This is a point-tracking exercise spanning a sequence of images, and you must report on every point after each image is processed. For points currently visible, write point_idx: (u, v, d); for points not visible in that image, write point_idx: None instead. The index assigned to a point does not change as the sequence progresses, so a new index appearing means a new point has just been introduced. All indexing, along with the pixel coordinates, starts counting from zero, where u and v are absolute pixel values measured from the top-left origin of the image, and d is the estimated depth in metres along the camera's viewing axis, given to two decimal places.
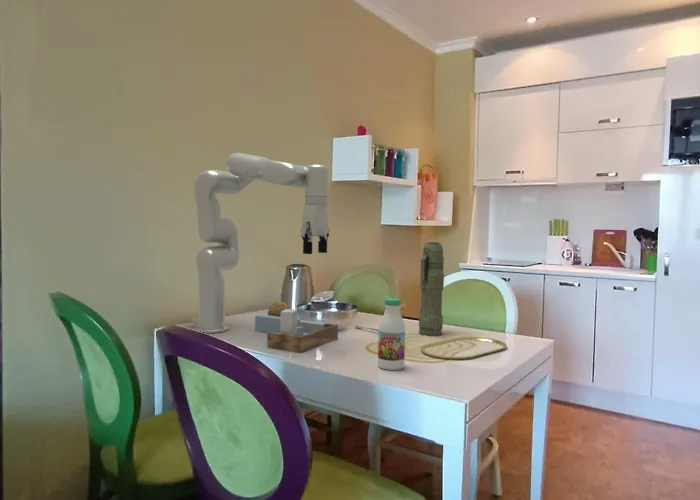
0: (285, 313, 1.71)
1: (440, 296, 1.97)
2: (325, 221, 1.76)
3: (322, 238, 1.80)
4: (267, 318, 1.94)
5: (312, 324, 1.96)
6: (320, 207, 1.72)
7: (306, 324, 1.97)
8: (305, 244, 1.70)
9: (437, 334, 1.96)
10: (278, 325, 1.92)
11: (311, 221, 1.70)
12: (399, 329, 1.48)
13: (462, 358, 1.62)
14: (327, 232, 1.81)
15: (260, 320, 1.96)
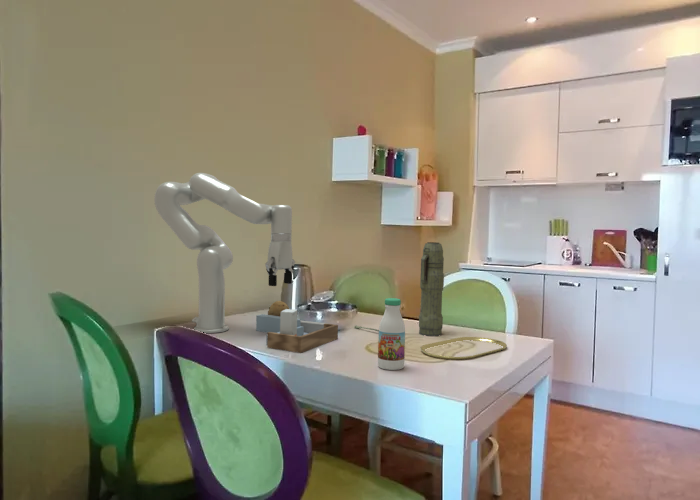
0: (285, 313, 1.71)
1: (440, 296, 1.97)
2: (289, 255, 1.93)
3: (287, 270, 1.97)
4: (268, 318, 1.95)
5: (312, 324, 1.96)
6: (284, 243, 1.90)
7: (306, 324, 1.97)
8: (270, 277, 1.88)
9: (437, 334, 1.96)
10: (279, 325, 1.92)
11: (275, 256, 1.87)
12: (399, 329, 1.48)
13: (462, 358, 1.62)
14: (292, 264, 1.98)
15: (261, 320, 1.96)
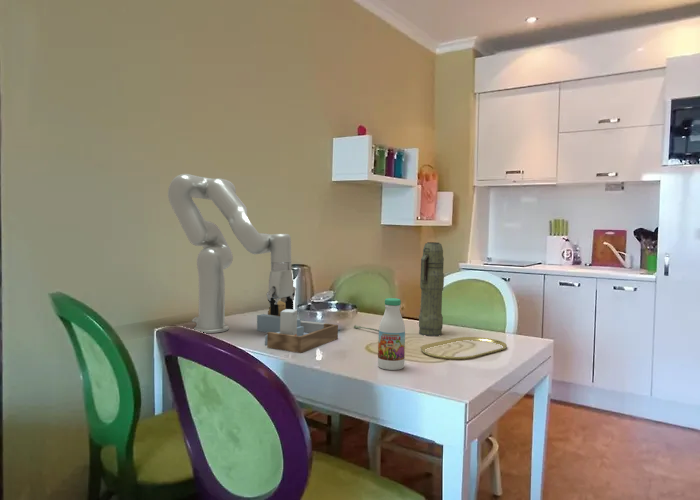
0: (285, 313, 1.71)
1: (440, 296, 1.97)
2: (290, 283, 1.94)
3: (288, 298, 1.98)
4: (268, 318, 1.95)
5: (312, 324, 1.96)
6: (284, 272, 1.90)
7: (306, 324, 1.96)
8: (272, 306, 1.88)
9: (437, 334, 1.96)
10: (279, 325, 1.92)
11: (276, 286, 1.88)
12: (399, 329, 1.48)
13: (462, 358, 1.62)
14: (293, 292, 1.99)
15: (262, 320, 1.97)
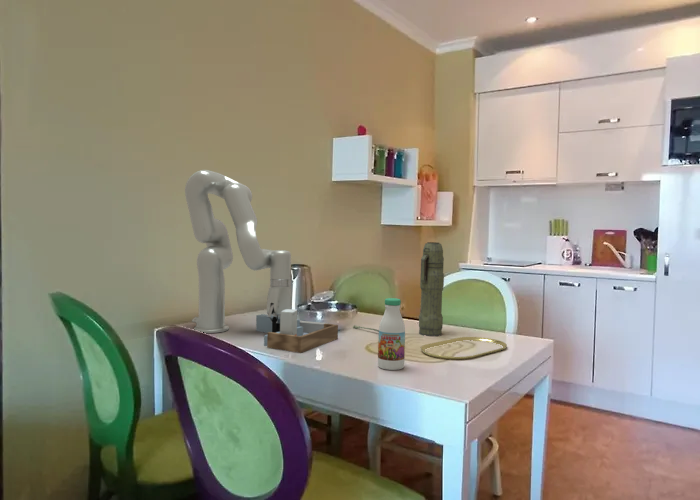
0: (285, 313, 1.71)
1: (440, 296, 1.97)
2: (288, 300, 1.94)
3: None
4: (267, 318, 1.94)
5: (313, 324, 1.96)
6: (283, 289, 1.91)
7: (306, 324, 1.96)
8: (274, 325, 1.91)
9: (437, 334, 1.96)
10: None
11: (275, 302, 1.88)
12: (399, 329, 1.48)
13: (462, 358, 1.62)
14: None
15: (261, 320, 1.96)
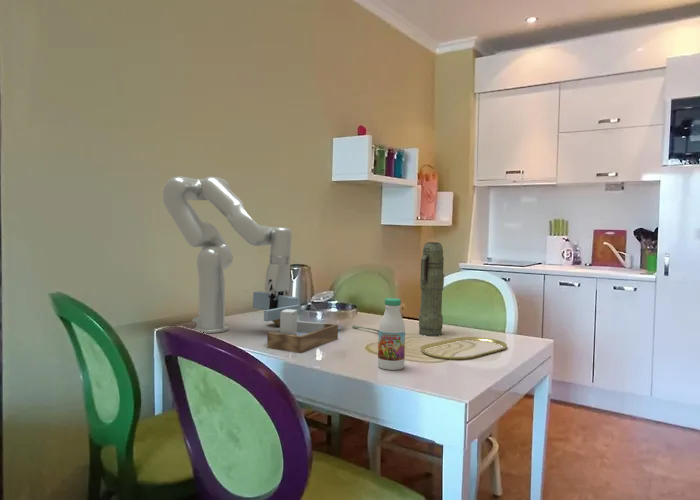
0: (285, 313, 1.71)
1: (440, 296, 1.97)
2: (287, 278, 1.94)
3: None
4: (265, 295, 1.94)
5: (313, 324, 1.96)
6: (282, 266, 1.90)
7: (306, 324, 1.96)
8: (271, 302, 1.91)
9: (437, 334, 1.96)
10: None
11: (273, 279, 1.88)
12: (399, 329, 1.48)
13: (462, 358, 1.62)
14: (286, 290, 1.97)
15: (258, 296, 1.96)
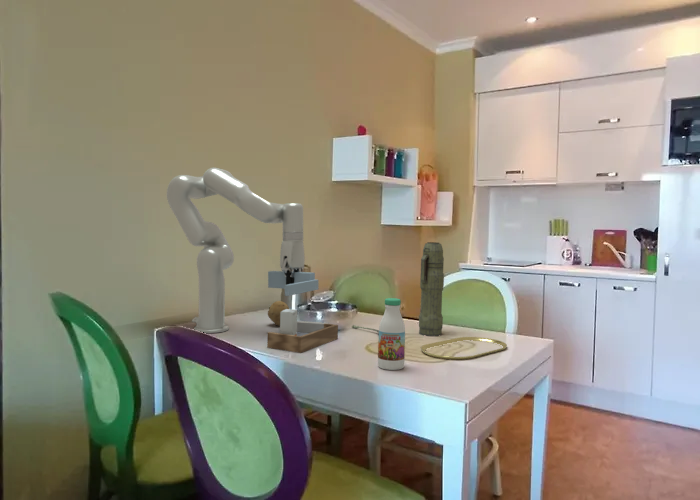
0: (285, 313, 1.71)
1: (440, 296, 1.97)
2: (302, 254, 1.91)
3: None
4: (281, 273, 1.91)
5: (313, 324, 1.96)
6: (296, 242, 1.88)
7: (306, 324, 1.96)
8: (287, 279, 1.88)
9: (437, 334, 1.96)
10: None
11: (288, 255, 1.85)
12: (399, 329, 1.48)
13: (462, 358, 1.62)
14: (301, 267, 1.94)
15: (273, 275, 1.92)
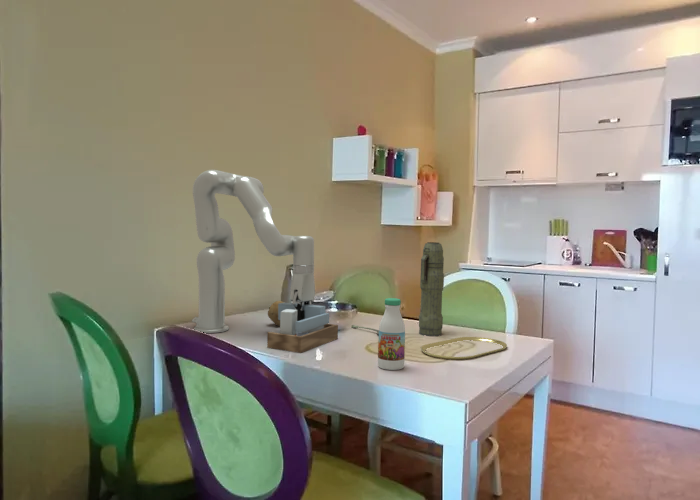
0: (285, 313, 1.71)
1: (440, 296, 1.97)
2: (312, 287, 1.90)
3: None
4: (291, 305, 1.89)
5: None
6: (307, 275, 1.86)
7: None
8: (298, 313, 1.86)
9: (437, 334, 1.96)
10: None
11: (299, 289, 1.84)
12: (399, 329, 1.48)
13: (462, 358, 1.62)
14: (311, 299, 1.93)
15: (283, 308, 1.91)
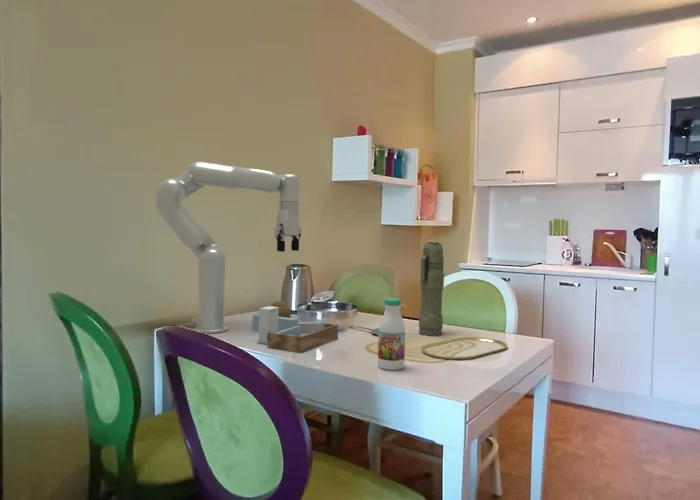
0: (263, 310, 1.77)
1: (440, 296, 1.97)
2: (297, 223, 2.02)
3: (295, 238, 2.06)
4: None
5: (315, 324, 1.96)
6: (292, 211, 1.99)
7: (308, 325, 1.95)
8: (278, 243, 1.97)
9: (437, 334, 1.96)
10: None
11: (284, 223, 1.96)
12: (399, 329, 1.48)
13: (463, 358, 1.62)
14: (299, 232, 2.07)
15: (258, 319, 1.96)
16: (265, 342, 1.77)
